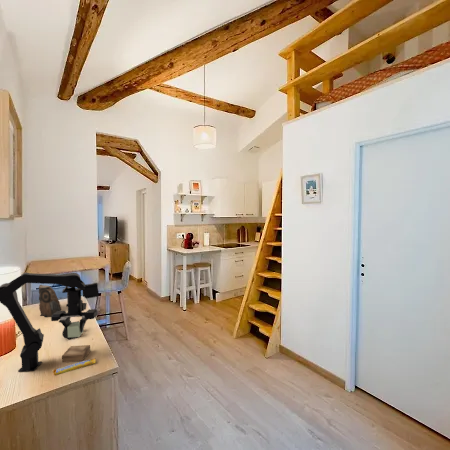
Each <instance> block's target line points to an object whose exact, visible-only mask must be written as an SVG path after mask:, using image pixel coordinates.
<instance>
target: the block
mask: <svg viewBox="0 0 450 450" xmlns="http://www.w3.org/2000/svg"><path fill="white" fill-rule="evenodd" d="M72 322H73V323H71V324H70V325H69V326H68V327H67V330H68V337H78V338H80V336H82V334H83V333H84V332H85V331H84V330H83V332H82V333H81V331H80V321H79V322H77V321H72Z"/></svg>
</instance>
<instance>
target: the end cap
mask: <svg viewBox="0 0 450 450" xmlns="http://www.w3.org/2000/svg"><path fill="white" fill-rule="evenodd" d="M73 322H74V321H72V320H70V324H71V323H73ZM76 322H80V320H78V321H76ZM63 327H64V326H63ZM61 336H62V337H63V338H64V339H66V340H74V339H78V338H79V337H68V331H67V330H66V328H65V327H64V328H63V330H62V335H61Z"/></svg>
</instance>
